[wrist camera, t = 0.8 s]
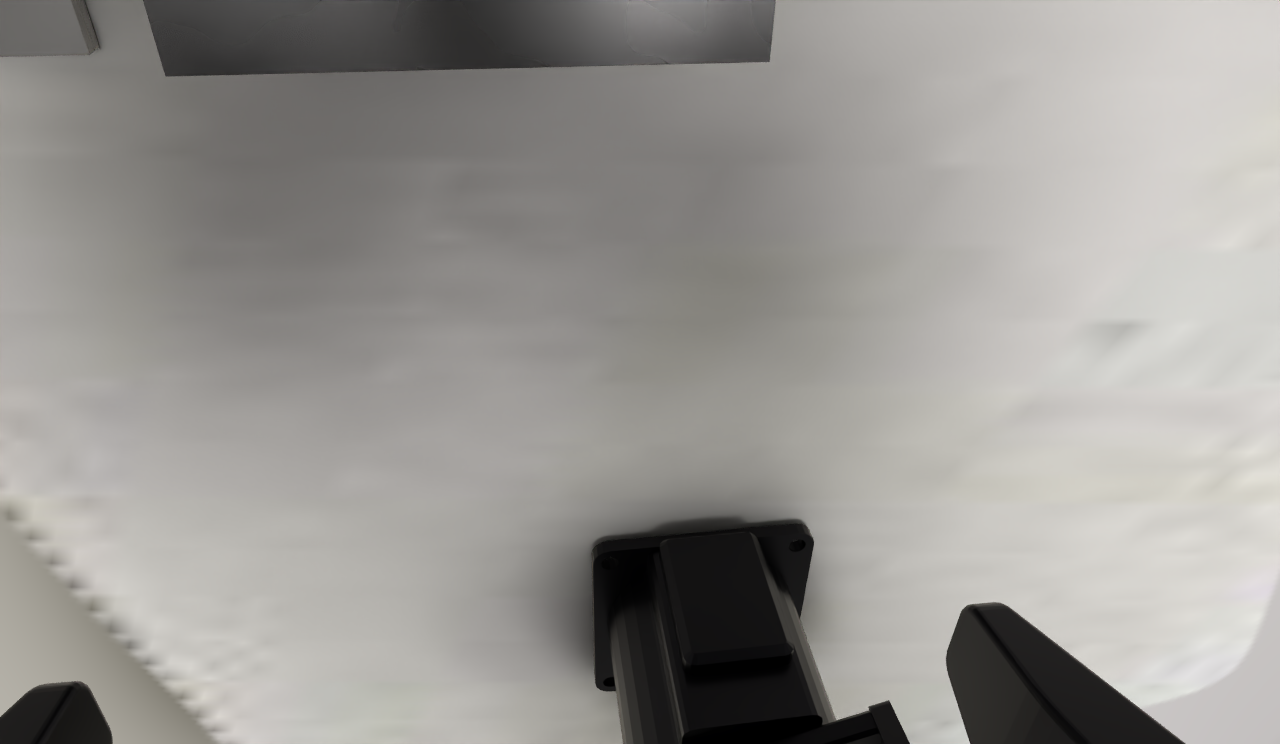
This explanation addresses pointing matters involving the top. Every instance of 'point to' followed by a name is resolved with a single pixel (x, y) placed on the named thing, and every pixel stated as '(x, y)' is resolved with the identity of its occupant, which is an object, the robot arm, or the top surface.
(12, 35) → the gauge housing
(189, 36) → the gauge plunger
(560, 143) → the top surface
